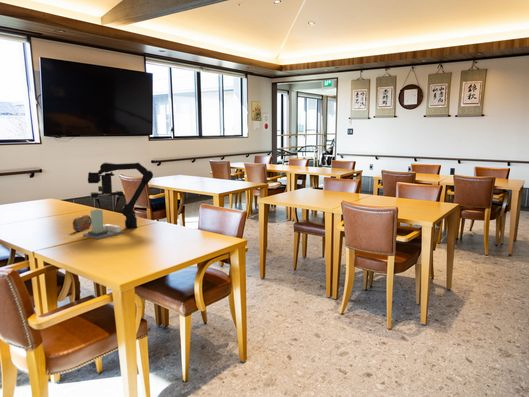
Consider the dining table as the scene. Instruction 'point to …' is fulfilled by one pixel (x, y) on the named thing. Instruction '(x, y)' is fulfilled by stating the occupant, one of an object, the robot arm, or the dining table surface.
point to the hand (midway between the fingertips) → (107, 208)
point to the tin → (81, 223)
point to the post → (97, 221)
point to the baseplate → (105, 232)
